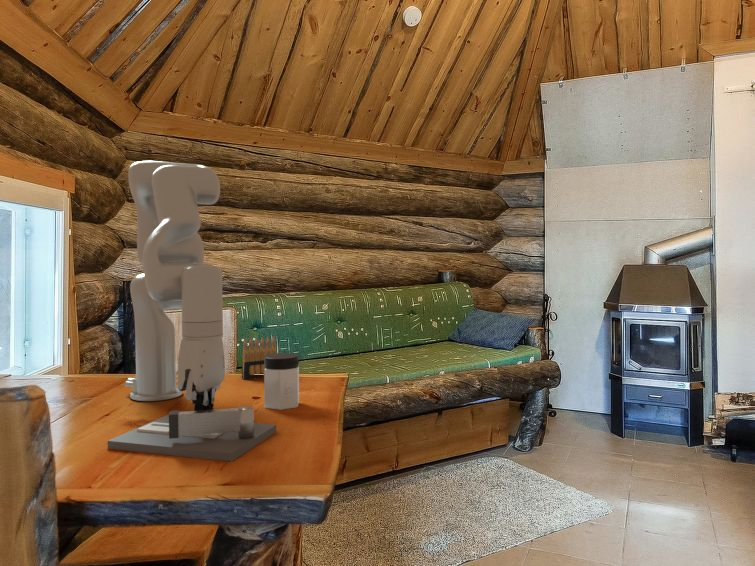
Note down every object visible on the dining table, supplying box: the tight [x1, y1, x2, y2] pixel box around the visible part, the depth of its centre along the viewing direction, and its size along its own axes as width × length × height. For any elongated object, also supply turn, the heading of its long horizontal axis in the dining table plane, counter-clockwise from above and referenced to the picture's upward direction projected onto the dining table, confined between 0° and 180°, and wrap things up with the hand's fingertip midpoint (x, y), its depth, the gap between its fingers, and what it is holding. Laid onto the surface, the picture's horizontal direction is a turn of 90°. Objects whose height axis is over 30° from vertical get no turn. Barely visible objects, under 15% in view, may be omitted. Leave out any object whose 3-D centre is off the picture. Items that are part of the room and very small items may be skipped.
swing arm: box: [168, 406, 255, 439], centre depth 113 cm, size 15×3×5 cm, turn 105°
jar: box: [263, 352, 300, 411], centre depth 144 cm, size 9×8×12 cm
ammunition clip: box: [241, 335, 278, 381], centre depth 176 cm, size 11×2×12 cm, turn 123°
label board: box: [107, 415, 277, 462], centre depth 118 cm, size 26×18×2 cm
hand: (203, 424), depth 116 cm, fingers closed
